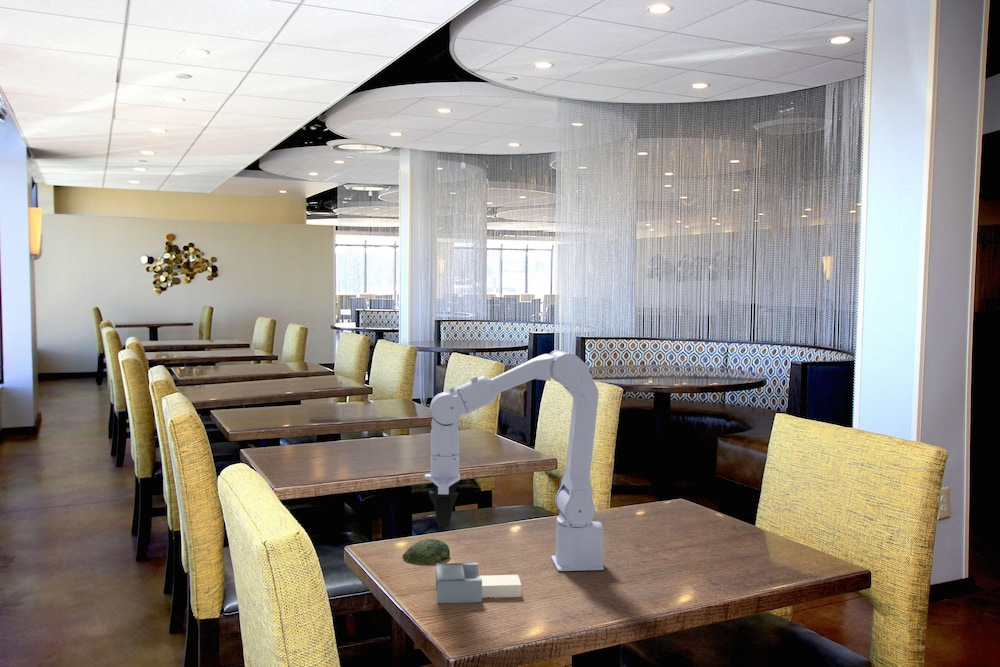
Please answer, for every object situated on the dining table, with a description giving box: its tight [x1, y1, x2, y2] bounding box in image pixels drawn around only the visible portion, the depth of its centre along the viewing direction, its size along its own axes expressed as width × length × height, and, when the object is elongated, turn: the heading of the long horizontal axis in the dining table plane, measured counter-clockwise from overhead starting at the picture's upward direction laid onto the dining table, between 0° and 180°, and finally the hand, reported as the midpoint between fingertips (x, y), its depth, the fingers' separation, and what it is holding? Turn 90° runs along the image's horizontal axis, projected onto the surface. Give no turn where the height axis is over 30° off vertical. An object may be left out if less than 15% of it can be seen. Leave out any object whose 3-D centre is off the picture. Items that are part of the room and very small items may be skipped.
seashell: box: [401, 538, 451, 566], centre depth 163 cm, size 10×4×10 cm
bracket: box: [435, 562, 483, 604], centre depth 144 cm, size 8×9×4 cm
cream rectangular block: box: [476, 574, 522, 599], centre depth 145 cm, size 8×5×3 cm, turn 96°
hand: (444, 520), depth 155 cm, fingers open, 7 cm apart
